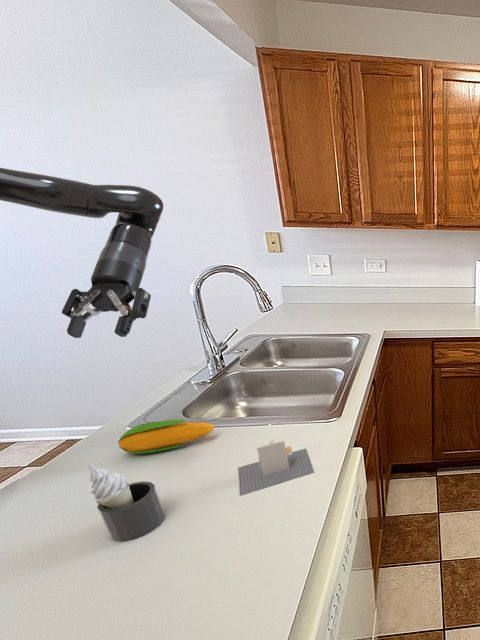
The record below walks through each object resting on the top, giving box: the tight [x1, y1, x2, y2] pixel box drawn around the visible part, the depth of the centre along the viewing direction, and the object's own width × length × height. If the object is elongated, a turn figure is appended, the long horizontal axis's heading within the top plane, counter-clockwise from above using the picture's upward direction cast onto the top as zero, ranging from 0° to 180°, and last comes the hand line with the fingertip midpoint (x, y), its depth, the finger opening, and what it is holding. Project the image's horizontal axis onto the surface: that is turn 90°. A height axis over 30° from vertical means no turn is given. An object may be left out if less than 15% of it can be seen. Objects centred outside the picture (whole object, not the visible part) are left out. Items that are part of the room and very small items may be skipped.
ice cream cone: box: [88, 463, 134, 509], centre depth 73 cm, size 5×5×15 cm
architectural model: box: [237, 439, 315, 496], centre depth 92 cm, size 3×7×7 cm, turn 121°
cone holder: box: [97, 481, 166, 542], centre depth 75 cm, size 8×8×7 cm
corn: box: [117, 419, 215, 454], centre depth 100 cm, size 7×8×20 cm
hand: (97, 335), depth 79 cm, fingers open, 8 cm apart
